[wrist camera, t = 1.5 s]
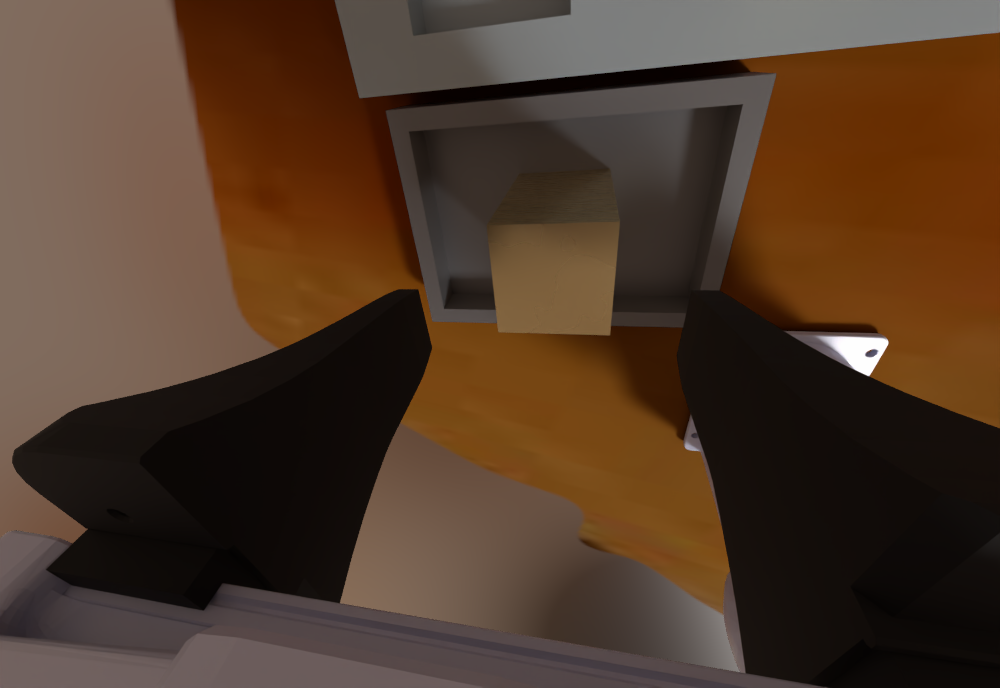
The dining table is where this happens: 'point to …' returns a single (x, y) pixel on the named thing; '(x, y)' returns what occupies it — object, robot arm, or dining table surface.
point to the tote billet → (555, 253)
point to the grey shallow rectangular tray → (586, 146)
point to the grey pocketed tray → (617, 35)
